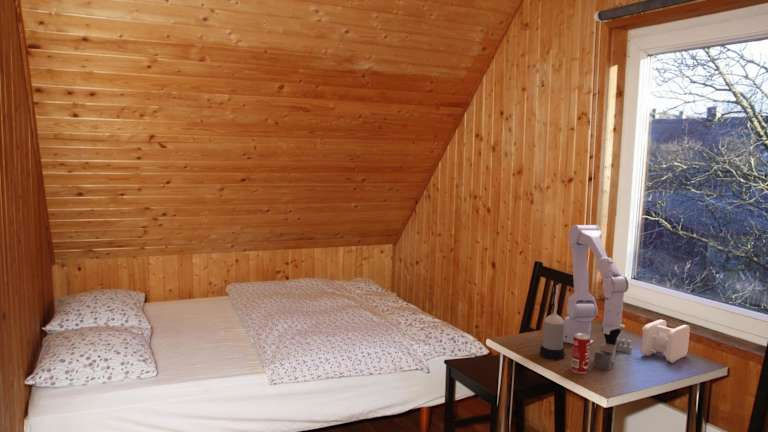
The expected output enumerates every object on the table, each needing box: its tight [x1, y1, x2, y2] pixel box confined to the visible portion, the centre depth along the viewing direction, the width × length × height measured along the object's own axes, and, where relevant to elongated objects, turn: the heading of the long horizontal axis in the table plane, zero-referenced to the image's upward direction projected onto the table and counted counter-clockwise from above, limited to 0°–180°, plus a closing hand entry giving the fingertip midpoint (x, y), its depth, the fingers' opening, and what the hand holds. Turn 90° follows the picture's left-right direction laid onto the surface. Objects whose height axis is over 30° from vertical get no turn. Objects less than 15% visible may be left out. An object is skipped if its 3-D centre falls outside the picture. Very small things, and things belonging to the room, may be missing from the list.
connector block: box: [593, 349, 613, 371], centre depth 195 cm, size 3×5×5 cm, turn 54°
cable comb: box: [615, 337, 633, 354], centre depth 212 cm, size 2×8×4 cm, turn 55°
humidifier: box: [539, 284, 566, 361], centre depth 203 cm, size 8×8×25 cm
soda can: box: [570, 333, 591, 375], centre depth 190 cm, size 5×5×12 cm
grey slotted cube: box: [599, 342, 616, 363], centre depth 199 cm, size 4×4×5 cm
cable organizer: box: [640, 319, 691, 364], centre depth 207 cm, size 15×11×12 cm
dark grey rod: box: [600, 340, 622, 353], centre depth 204 cm, size 21×4×4 cm, turn 144°
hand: (610, 349), depth 201 cm, fingers closed, pressing on grey slotted cube
